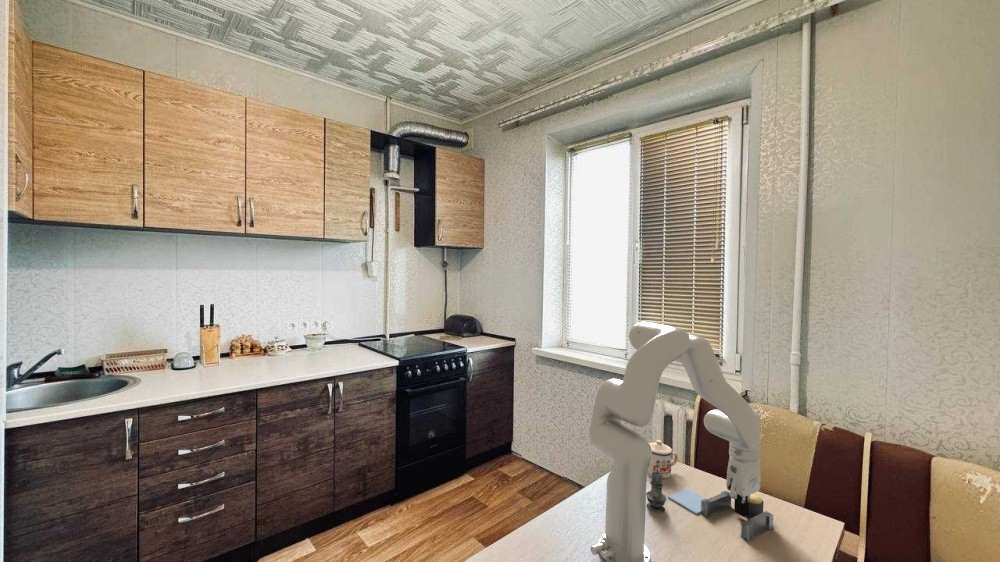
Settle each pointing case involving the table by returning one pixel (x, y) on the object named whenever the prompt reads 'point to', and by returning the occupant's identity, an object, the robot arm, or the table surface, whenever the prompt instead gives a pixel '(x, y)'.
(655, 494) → the dark grey turned post
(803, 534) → the table surface
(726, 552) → the table surface
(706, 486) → the table surface
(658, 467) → the teacup with lid
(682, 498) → the mat
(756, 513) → the grey and yellow cylinder
